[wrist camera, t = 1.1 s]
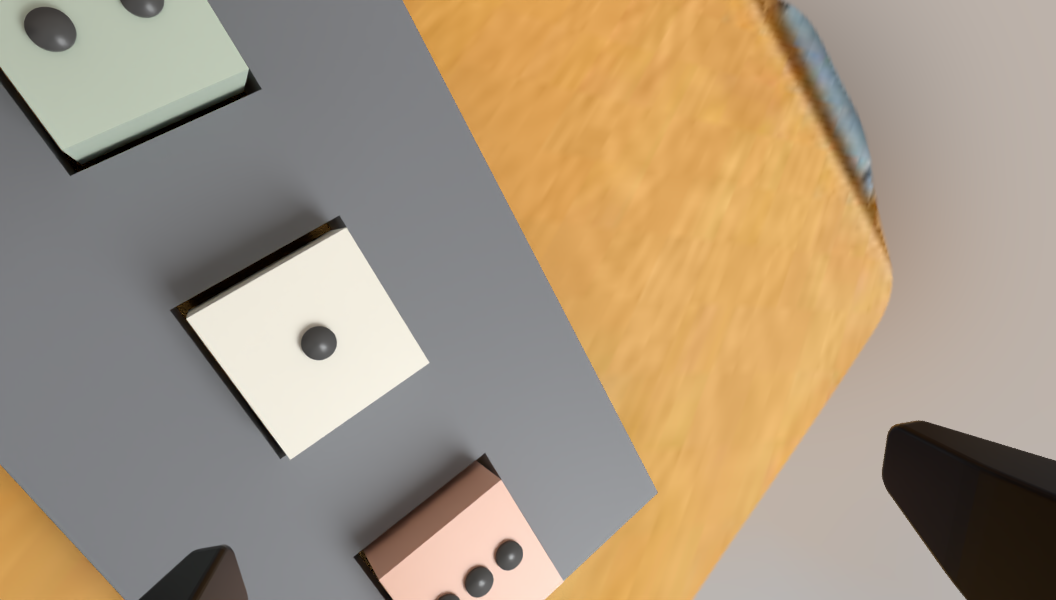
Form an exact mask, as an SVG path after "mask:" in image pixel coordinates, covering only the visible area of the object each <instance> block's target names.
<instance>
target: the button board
mask: <svg viewBox="0 0 1056 600" xmlns="http://www.w3.org/2000/svg"><path fill="white" fill-rule="evenodd" d="M207 1H208V3H209V4H210V6H211V8H212V9H213V11H214V12H215V14H216V16H217V17H218V19H219V21H220V22H221V24H222V25H223V27H224V29H225V30H226V32H227V34H228V35H229V37H230V38H231V40H232V42H233V43H234V45H235V47H236V48H237V50H238V52H239V53H240V55H241V56H242V58H243V60H244V61H245V63H246V65H247V66H248V68H249V71H248V75H247V79H246V83H245V87H244V91H245V92H246V94H247V95H248V96H246V97H244V98H241V99H239V100H237V101H235V102H233V103H230V104H228V105H226V106H224V107H222V108H219V109H217V110H215V111H213V112H210V113H208V114H206V115H204V116H202V117H199V118H197V119H195V120H193V121H191V122H188V123H186V124H184V125H182V126H180V127H177V128H175V129H173V130H171V131H169V132H166V133H164V134H162V135H160V136H157V137H155V138H153V139H151V140H149V141H146V142H144V143H142V144H140V145H138V146H135V147H133V148H131V149H129V150H127V151H124V152H122V153H120V154H118V155H115V156H113V157H111V158H109V159H107V160H104V161H102V162H100V163H98V164H96V165H93V166H91V167H89V168H87V169H85V170H82V171H80V172H78V173H77V172H76V170H75V169H74V168H73V166H72V165H71V164H70V162H69V161H68V160H67V158H66V157H65V155H64V154H63V153H62V151H61V150H60V149H59V147H58V146H57V145H56V143H55V142H54V141H53V139H52V138H51V136H50V135H49V134H48V132H47V131H46V130H45V128H44V127H43V126H42V124H41V123H40V122H39V120H38V119H37V118H36V116H35V115H34V113H33V112H32V111H31V109H30V108H29V107H28V105H27V104H26V103H25V101H24V100H23V99H22V97H21V96H20V94H19V93H18V92H17V90H16V89H15V88H14V86H13V85H12V84H11V82H10V81H9V80H8V78H7V77H6V76H5V74H4V73H3V71H2V70H1V69H0V465H1V466H2V467H3V468H4V469H5V470H6V471H7V472H8V473H9V474H10V475H11V477H12V478H13V479H14V480H15V481H16V482H17V483H18V484H19V485H20V486H21V487H22V488H23V490H24V491H25V492H26V493H27V494H28V495H29V496H30V497H31V498H32V499H33V500H34V502H35V503H36V504H37V505H38V506H39V507H40V508H41V509H42V510H43V511H44V512H45V513H46V515H47V516H48V517H49V518H50V519H51V520H52V521H53V522H54V523H55V524H56V525H57V527H58V528H59V529H60V530H61V531H62V532H63V533H64V534H65V535H66V536H67V537H68V538H69V540H70V541H71V542H72V543H73V544H74V545H75V546H76V547H77V548H78V549H79V550H80V551H81V553H82V554H83V555H84V556H85V557H86V558H87V559H88V560H89V561H90V562H91V563H92V565H93V566H94V567H95V568H96V569H97V570H98V571H99V572H100V573H101V574H102V575H103V576H104V578H105V579H106V580H107V581H108V582H109V583H110V584H111V585H112V586H113V587H114V588H115V590H116V591H117V592H118V593H119V594H120V595H121V596H122V597H123V598H124V599H125V600H139V599H140V598H141V597H142V596H143V595H144V594H145V593H146V592H147V591H148V590H150V589H151V588H152V587H153V586H154V585H155V584H156V583H157V582H158V581H159V580H161V579H162V578H163V577H164V576H165V575H166V574H167V573H168V572H169V571H170V570H172V569H173V568H174V567H175V566H176V565H177V564H178V563H179V562H180V561H182V560H183V559H184V558H185V557H186V556H187V555H188V554H190V553H191V552H192V551H194V550H196V549H200V548H206V547H211V546H217V545H223V544H225V545H228V546H230V547H231V548H232V550H233V551H234V554H235V557H236V560H237V563H238V566H239V569H240V572H241V575H242V578H243V581H244V585H245V588H246V591H247V594H248V600H392V598H391V597H390V596H389V594H388V593H387V592H386V590H385V589H384V588H383V586H382V585H381V584H380V582H379V581H378V579H377V578H376V577H375V575H374V574H373V573H372V571H371V570H370V569H369V567H368V566H367V565H366V563H365V562H364V560H363V559H362V558H361V556H360V555H359V554H358V553H359V552H360V551H362V550H363V549H364V548H365V547H367V546H368V545H369V544H370V543H372V542H373V541H374V540H375V539H377V538H378V537H379V536H381V535H382V534H383V533H384V532H386V531H387V530H388V529H389V528H391V527H392V526H393V525H394V524H396V523H397V522H398V521H399V520H401V519H402V518H403V517H405V516H406V515H407V514H408V513H410V512H411V511H412V510H413V509H415V508H416V507H417V506H418V505H420V504H421V503H422V502H424V501H425V500H426V499H427V498H429V497H430V496H431V495H432V494H434V493H435V492H436V491H437V490H439V489H440V488H441V487H442V486H444V485H445V484H446V483H448V482H449V481H450V480H451V479H453V478H454V477H455V476H456V475H458V474H459V473H460V472H461V471H463V470H464V469H465V468H467V467H468V466H469V465H470V464H472V463H473V462H474V461H475V460H476V461H477V462H479V463H480V464H481V465H483V466H484V467H485V468H487V469H488V470H489V471H490V472H492V473H493V474H494V475H496V476H497V477H498V478H500V479H501V480H502V482H503V483H504V485H505V487H506V488H507V490H508V491H509V493H510V495H511V496H512V498H513V500H514V501H515V503H516V505H517V506H518V508H519V509H520V511H521V513H522V514H523V516H524V518H525V519H526V521H527V522H528V524H529V526H530V527H531V529H532V531H533V532H534V534H535V535H536V537H537V539H538V540H539V542H540V544H541V545H542V547H543V549H544V550H545V552H546V553H547V555H548V557H549V558H550V560H551V562H552V563H553V565H554V566H555V568H556V570H557V571H558V573H559V575H560V576H561V578H562V579H563V581H564V580H565V579H566V578H567V577H568V576H569V575H571V574H572V573H573V572H574V571H575V570H576V569H577V568H578V567H579V566H580V565H581V564H582V563H583V562H584V561H586V560H587V559H588V558H589V557H590V556H591V555H592V554H593V553H594V552H595V551H596V550H597V549H598V548H599V547H600V546H602V545H603V544H604V543H605V542H606V541H607V540H608V539H609V538H610V537H611V536H612V535H613V534H614V533H615V532H616V531H618V530H619V529H620V528H621V527H622V526H623V525H624V524H625V523H626V522H627V521H628V520H629V519H630V518H631V517H632V516H634V515H635V514H636V513H637V512H638V511H639V510H640V509H641V508H642V507H643V506H644V505H645V504H646V503H647V502H648V501H650V500H651V499H652V498H653V497H654V496H655V495H656V494H657V493H658V492H657V490H656V488H655V486H654V484H653V482H652V480H651V479H650V477H649V475H648V473H647V471H646V469H645V467H644V465H643V463H642V461H641V459H640V457H639V455H638V453H637V452H636V450H635V448H634V446H633V444H632V442H631V440H630V438H629V436H628V434H627V432H626V430H625V428H624V427H623V425H622V423H621V421H620V419H619V417H618V415H617V413H616V411H615V409H614V407H613V405H612V403H611V401H610V400H609V398H608V396H607V394H606V392H605V390H604V388H603V386H602V384H601V382H600V380H599V378H598V376H597V375H596V373H595V371H594V369H593V367H592V365H591V363H590V361H589V359H588V357H587V355H586V353H585V351H584V349H583V348H582V346H581V344H580V342H579V340H578V338H577V336H576V334H575V332H574V330H573V328H572V326H571V324H570V323H569V321H568V319H567V317H566V315H565V313H564V311H563V309H562V307H561V305H560V303H559V301H558V299H557V297H556V296H555V294H554V292H553V290H552V288H551V286H550V284H549V282H548V280H547V278H546V276H545V274H544V272H543V271H542V269H541V267H540V265H539V263H538V261H537V259H536V257H535V255H534V253H533V251H532V249H531V247H530V245H529V244H528V242H527V240H526V238H525V236H524V234H523V232H522V230H521V228H520V226H519V224H518V222H517V220H516V219H515V217H514V215H513V213H512V211H511V209H510V207H509V205H508V203H507V201H506V199H505V197H504V195H503V193H502V192H501V190H500V188H499V186H498V184H497V182H496V180H495V178H494V176H493V174H492V172H491V170H490V168H489V167H488V165H487V163H486V161H485V159H484V157H483V155H482V153H481V151H480V149H479V147H478V145H477V143H476V141H475V140H474V138H473V136H472V134H471V132H470V130H469V128H468V126H467V124H466V122H465V120H464V118H463V116H462V115H461V113H460V111H459V109H458V107H457V105H456V103H455V101H454V99H453V97H452V95H451V93H450V91H449V89H448V88H447V86H446V84H445V82H444V80H443V78H442V76H441V74H440V72H439V70H438V68H437V66H436V64H435V63H434V61H433V59H432V57H431V55H430V53H429V51H428V49H427V47H426V45H425V43H424V41H423V39H422V37H421V36H420V34H419V32H418V30H417V28H416V26H415V24H414V22H413V20H412V18H411V16H410V14H409V12H408V10H407V9H406V7H405V5H404V3H403V1H402V0H207ZM325 223H327V224H328V225H329V227H330V229H331V230H335V229H341V228H347V229H348V231H349V232H350V234H351V236H352V237H353V239H354V241H355V242H356V244H357V245H358V247H359V249H360V250H361V252H362V254H363V255H364V257H365V258H366V260H367V262H368V263H369V265H370V267H371V268H372V270H373V271H374V273H375V275H376V276H377V278H378V280H379V281H380V283H381V285H382V286H383V288H384V289H385V291H386V293H387V294H388V296H389V298H390V299H391V301H392V302H393V304H394V306H395V307H396V309H397V311H398V312H399V314H400V315H401V317H402V319H403V320H404V322H405V324H406V325H407V327H408V329H409V330H410V332H411V333H412V335H413V337H414V338H415V340H416V342H417V343H418V345H419V346H420V348H421V350H422V351H423V353H424V355H425V356H426V358H427V359H428V361H429V364H427V365H426V366H424V367H423V368H422V369H420V370H419V371H417V372H416V373H414V374H413V375H411V376H410V377H409V378H407V379H406V380H404V381H403V382H401V383H400V384H399V385H397V386H396V387H394V388H393V389H391V390H390V391H389V392H387V393H386V394H384V395H383V396H381V397H380V398H378V399H377V400H376V401H374V402H373V403H371V404H370V405H368V406H367V407H366V408H364V409H363V410H361V411H360V412H358V413H357V414H356V415H354V416H353V417H351V418H350V419H348V420H347V421H345V422H344V423H343V424H341V425H340V426H338V427H337V428H335V429H334V430H333V431H331V432H330V433H328V434H327V435H325V436H324V437H323V438H321V439H320V440H318V441H317V442H315V443H314V444H312V445H311V446H310V447H308V448H307V449H305V450H304V451H302V452H301V453H300V454H298V455H297V456H295V457H294V458H292V459H291V460H290V459H289V457H288V456H287V455H286V453H285V452H284V451H283V449H282V448H281V447H280V445H279V444H278V443H277V441H276V440H275V438H274V437H273V436H271V435H270V433H269V432H268V430H267V429H266V428H265V426H264V425H263V424H262V422H261V421H260V420H259V418H258V417H257V416H256V414H255V413H254V411H253V410H252V409H251V407H250V406H249V405H248V403H247V402H246V401H245V399H244V398H243V397H242V395H241V394H240V393H239V391H238V390H237V388H236V387H235V386H234V384H233V383H232V382H231V380H230V379H229V378H228V376H227V375H226V374H225V372H224V371H223V369H222V368H221V367H220V365H219V364H218V363H217V361H216V360H215V359H214V357H213V356H212V355H211V353H210V352H209V351H208V349H207V348H206V346H205V345H204V344H203V342H202V341H201V340H200V338H199V337H198V336H197V334H196V333H195V332H194V330H193V329H192V327H191V326H190V325H189V323H188V322H187V321H186V319H185V318H184V317H183V315H182V314H181V313H180V311H179V310H178V309H177V307H176V306H178V305H180V304H182V303H183V302H185V301H187V300H189V299H190V298H192V297H194V296H196V295H198V294H199V293H201V292H203V291H205V290H207V289H208V288H210V287H212V286H214V285H216V284H217V283H219V282H221V281H223V280H224V279H226V278H228V277H230V276H232V275H233V274H235V273H237V272H239V271H241V270H242V269H244V268H246V267H248V266H250V265H251V264H253V263H255V262H257V261H258V260H260V259H262V258H264V257H266V256H267V255H269V254H271V253H273V252H275V251H276V250H278V249H280V248H282V247H284V246H285V245H287V244H289V243H291V242H293V241H294V240H296V239H298V238H300V237H301V236H303V235H305V234H307V233H309V232H310V231H312V230H314V229H316V228H318V227H319V226H321V225H323V224H325Z"/></svg>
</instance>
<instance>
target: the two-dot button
mask: <svg viewBox="0 0 1056 600" xmlns="http://www.w3.org/2000/svg"><path fill="white" fill-rule="evenodd" d="M0 67H1V68H2V70H3V71H4V72H5V74H6V75H7V76H8V78H9V79H10V81H11V82H12V83H13V85H14V86H15V87H16V89H17V90H18V91H19V93H20V94H21V95H22V97H23V98H24V100H25V101H26V102H27V104H28V105H29V106H30V108H31V109H32V110H33V112H34V113H35V114H36V116H37V117H38V119H39V120H40V121H41V123H42V124H43V125H44V127H45V128H46V129H47V131H48V132H49V133H50V135H51V136H52V137H53V139H54V140H55V142H56V143H57V144H58V146H59V147H60V148H61V150H62V151H64V152H65V153H66V154H68V155H69V156H71V157H72V158H73V159H75V160H76V161H77V162H79V163H80V164H84V163H86V162H88V161H90V160H93V159H95V158H97V157H99V156H102V155H104V154H106V153H108V152H110V151H113V150H115V149H117V148H119V147H122V146H124V145H126V144H128V143H130V142H133V141H135V140H137V139H139V138H142V137H144V136H146V135H148V134H151V133H153V132H155V131H157V130H159V129H162V128H164V127H166V126H168V125H171V124H173V123H175V122H177V121H179V120H182V119H184V118H186V117H188V116H191V115H193V114H195V113H197V112H200V111H202V110H204V109H206V108H208V107H211V106H213V105H215V104H217V103H220V102H222V101H224V100H226V99H228V98H231V97H233V96H235V95H237V94H240V93H242V92H243V91H244V87H245V83H246V79H247V75H248V71H249V68H248V66H247V65H246V63H245V61H244V60H243V58H242V56H241V55H240V53H239V52H238V50H237V48H236V47H235V45H234V43H233V42H232V40H231V38H230V37H229V35H228V34H227V32H226V30H225V29H224V27H223V25H222V24H221V22H220V21H219V19H218V17H217V16H216V14H215V12H214V11H213V9H212V8H211V6H210V4H209V3H208V1H207V0H0Z"/></svg>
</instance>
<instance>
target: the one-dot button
mask: <svg viewBox="0 0 1056 600" xmlns="http://www.w3.org/2000/svg"><path fill="white" fill-rule="evenodd" d="M186 319H187V321H188V322H189V323H190V325H191V326H192V327H193V329H194V330H195V331H196V333H197V334H198V335H199V337H200V338H201V340H202V341H203V342H204V344H205V345H206V346H207V348H208V349H209V350H210V352H211V353H212V354H213V356H214V357H215V358H216V360H217V361H218V363H219V364H220V365H221V367H222V368H223V369H224V371H225V372H226V373H227V375H228V376H229V377H230V379H231V380H232V382H233V383H234V384H235V386H236V387H237V388H238V390H239V391H240V392H241V394H242V395H243V396H244V398H245V399H246V401H247V402H248V403H249V405H250V406H251V407H252V409H253V410H254V411H255V413H256V414H257V415H258V417H259V418H260V420H261V421H262V422H263V424H264V425H265V426H266V428H267V429H268V430H269V432H270V433H271V434H272V436H273V437H274V438H275V440H276V441H277V443H278V444H279V445H280V447H281V448H282V449H283V451H284V452H285V453H286V455H287V456H288V457H289V459H290V460H291V459H292V458H294V457H295V456H297V455H298V454H300V453H301V452H302V451H304V450H305V449H307V448H308V447H310V446H311V445H312V444H314V443H315V442H317V441H318V440H320V439H321V438H323V437H324V436H325V435H327V434H328V433H330V432H331V431H333V430H334V429H335V428H337V427H338V426H340V425H341V424H343V423H344V422H345V421H347V420H348V419H350V418H351V417H353V416H354V415H356V414H357V413H358V412H360V411H361V410H363V409H364V408H366V407H367V406H368V405H370V404H371V403H373V402H374V401H376V400H377V399H378V398H380V397H381V396H383V395H384V394H386V393H387V392H389V391H390V390H391V389H393V388H394V387H396V386H397V385H399V384H400V383H401V382H403V381H404V380H406V379H407V378H409V377H410V376H411V375H413V374H414V373H416V372H417V371H419V370H420V369H422V368H423V367H424V366H426V365H427V364H429V361H428V359H427V358H426V356H425V355H424V353H423V351H422V350H421V348H420V346H419V345H418V343H417V342H416V340H415V338H414V337H413V335H412V333H411V332H410V330H409V329H408V327H407V325H406V324H405V322H404V320H403V319H402V317H401V315H400V314H399V312H398V311H397V309H396V307H395V306H394V304H393V302H392V301H391V299H390V298H389V296H388V294H387V293H386V291H385V289H384V288H383V286H382V285H381V283H380V281H379V280H378V278H377V276H376V275H375V273H374V271H373V270H372V268H371V267H370V265H369V263H368V262H367V260H366V258H365V257H364V255H363V254H362V252H361V250H360V249H359V247H358V245H357V244H356V242H355V241H354V239H353V237H352V236H351V234H350V232H349V231H348V229H347V228H341V229H335V230H330V231H328V232H326V233H325V234H323V235H321V236H319V237H318V238H316V239H314V240H312V241H310V242H309V243H307V244H305V245H303V246H302V247H300V248H298V249H296V250H295V251H293V252H291V253H289V254H287V255H286V256H284V257H282V258H280V259H279V260H277V261H275V262H273V263H272V264H270V265H268V266H266V267H264V268H263V269H261V270H259V271H257V272H256V273H254V274H252V275H250V276H249V277H247V278H245V279H243V280H241V281H240V282H238V283H236V284H234V285H233V286H231V287H229V288H227V289H226V290H224V291H222V292H220V293H218V294H217V295H215V296H213V297H211V298H210V299H208V300H206V301H204V302H203V303H201V304H199V305H197V306H195V307H194V308H192V309H190V310H188V314H187V317H186Z"/></svg>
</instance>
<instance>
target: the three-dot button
mask: <svg viewBox="0 0 1056 600" xmlns="http://www.w3.org/2000/svg"><path fill="white" fill-rule="evenodd" d="M363 551H364V553H365V555H366V557H367V559H368V561H369V562H370V564H371V566H372V568H373V570H374V572H375V574H376V576H377V577H378V579H379V581H380V582H381V584H382V585H383V586H384V588H385V589H386V590H387V592H388V593H389V594H390V596H391V597H392V598H393V600H545V599H546V598H547V597H548V596H549V595H550V594H551V593H552V592H553V591H554V590H555V589H556V588H557V587H558V586H560V585H561V584H562V583H563V582H564V581H563V579H562V578H561V576H560V575H559V573H558V571H557V570H556V568H555V566H554V565H553V563H552V562H551V560H550V558H549V557H548V555H547V553H546V552H545V550H544V549H543V547H542V545H541V544H540V542H539V540H538V539H537V537H536V535H535V534H534V532H533V531H532V529H531V527H530V526H529V524H528V522H527V521H526V519H525V518H524V516H523V514H522V513H521V511H520V509H519V508H518V506H517V505H516V503H515V501H514V500H513V498H512V496H511V495H510V493H509V491H508V490H507V488H506V487H505V485H504V483H503V482H502V480H501V479H500V478H498V477H497V476H496V475H494V474H493V473H492V472H490V471H489V470H488V469H487V468H485V467H484V466H483V465H481V464H480V463H479V462H477V461H476V460H475V461H474V462H473V463H472V464H470V465H469V466H468V467H467V468H465V469H464V470H463V471H461V472H460V473H459V474H458V475H456V476H455V477H454V478H453V479H451V480H450V481H449V482H448V483H446V484H445V485H444V486H442V487H441V488H440V489H439V490H437V491H436V492H435V493H434V494H432V495H431V496H430V497H429V498H427V499H426V500H425V501H424V502H422V503H421V504H420V505H418V506H417V507H416V508H415V509H413V510H412V511H411V512H410V513H408V514H407V515H406V516H405V517H403V518H402V519H401V520H399V521H398V522H397V523H396V524H394V525H393V526H392V527H391V528H389V529H388V530H387V531H386V532H384V533H383V534H382V535H381V536H379V537H378V538H377V539H375V540H374V541H373V542H372V543H370V544H369V545H368V546H367V547H365V548H364V549H363Z"/></svg>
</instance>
